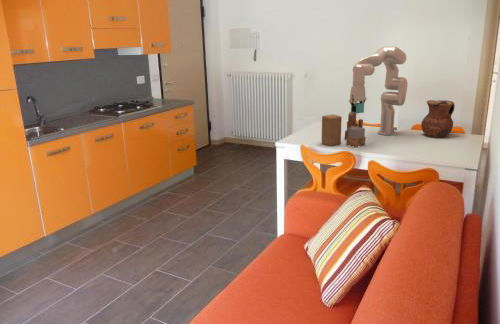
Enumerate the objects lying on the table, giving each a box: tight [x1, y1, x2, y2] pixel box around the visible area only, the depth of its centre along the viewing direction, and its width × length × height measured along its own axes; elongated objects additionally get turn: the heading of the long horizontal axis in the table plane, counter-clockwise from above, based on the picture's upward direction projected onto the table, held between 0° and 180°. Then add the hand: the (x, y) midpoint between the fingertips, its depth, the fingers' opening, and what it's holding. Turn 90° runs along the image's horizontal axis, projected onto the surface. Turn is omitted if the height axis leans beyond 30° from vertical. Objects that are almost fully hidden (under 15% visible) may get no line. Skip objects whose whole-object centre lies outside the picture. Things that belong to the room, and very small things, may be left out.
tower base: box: [345, 136, 366, 148], centre depth 280 cm, size 9×9×6 cm
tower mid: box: [348, 127, 366, 139], centre depth 279 cm, size 8×8×6 cm
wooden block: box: [321, 114, 342, 147], centre depth 284 cm, size 10×10×20 cm
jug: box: [421, 99, 455, 138], centre depth 296 cm, size 22×21×25 cm
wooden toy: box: [344, 111, 364, 140], centre depth 297 cm, size 16×7×25 cm, turn 138°
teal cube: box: [350, 102, 365, 114], centre depth 273 cm, size 6×6×6 cm
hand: (357, 110), depth 274 cm, fingers closed on teal cube, 6 cm apart
